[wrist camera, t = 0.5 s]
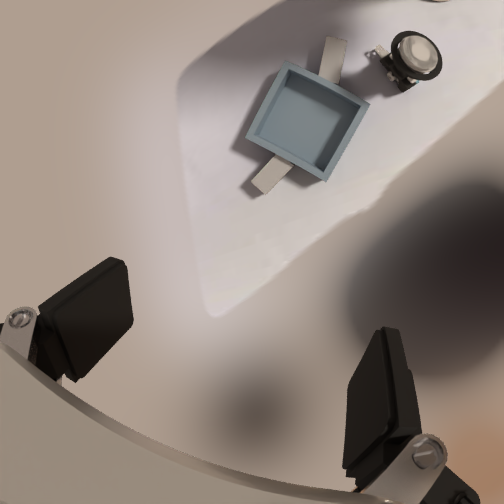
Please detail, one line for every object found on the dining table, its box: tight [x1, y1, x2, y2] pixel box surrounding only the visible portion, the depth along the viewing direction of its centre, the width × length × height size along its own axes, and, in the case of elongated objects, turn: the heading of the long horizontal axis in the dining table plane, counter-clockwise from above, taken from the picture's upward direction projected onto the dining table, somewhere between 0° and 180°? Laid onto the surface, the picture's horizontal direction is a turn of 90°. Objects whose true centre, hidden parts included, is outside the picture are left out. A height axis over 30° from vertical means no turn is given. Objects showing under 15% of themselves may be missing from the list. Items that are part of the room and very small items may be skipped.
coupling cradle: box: [245, 36, 370, 195], centre depth 29 cm, size 22×11×3 cm, turn 153°
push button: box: [375, 31, 442, 92], centre depth 21 cm, size 7×5×10 cm
